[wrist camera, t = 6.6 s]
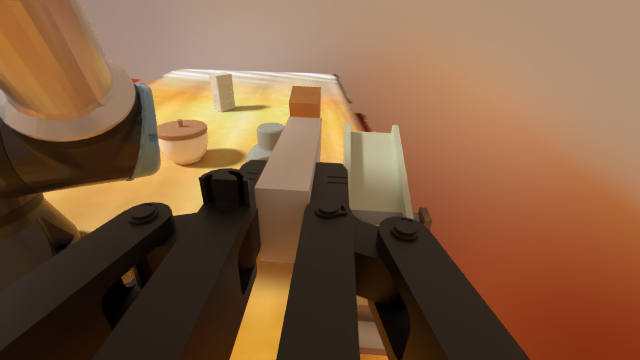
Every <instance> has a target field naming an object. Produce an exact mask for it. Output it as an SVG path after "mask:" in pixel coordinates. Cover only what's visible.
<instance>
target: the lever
mask: <svg viewBox="0 0 640 360" xmlns="http://www.w3.org/2000/svg"><path fill="white" fill-rule="evenodd" d="M320 99H321V87H302V86H293V87H292V92H291V96H290V100H289V108H290V117H308V118H320ZM343 165H344V167H345V168H346V169H347V170H348V189H349V207H350V209H351V211H352V214H353V215H354V216H355V217H357V218H358V219H360V220H362V221H364V222H366V223H369V224H373V225H376V226H379V225H380V222H381V221H383V220H384V219H386V218H389V217H394V216H400V217H407V218H411V219H414V220H416V221H418V222H420V220H419V215H418V214H416V213H413V211H412V205H411V200H410V193H409V187H408V181H407V175H406V169H405V164H404V158H403V152H402V146H401V140H400V134H399V128H398V125H393V126H392V130H391V133H374V132H355V131H351V123H346V122H345V131H344V159H343ZM357 311H366V312H371V311H370V308H369V306H368V300H367V299H365V298H362V297H360V296H357Z"/></svg>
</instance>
